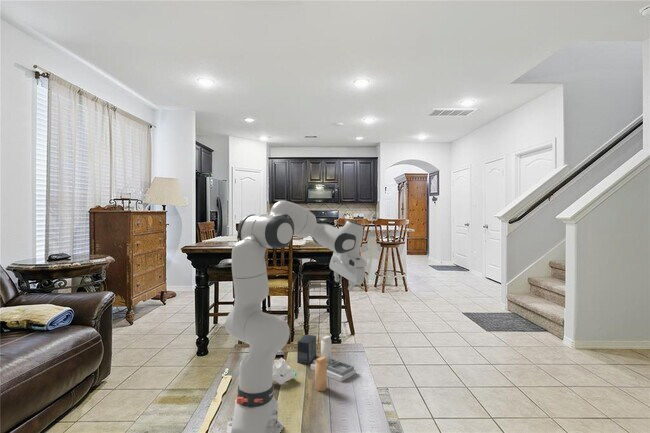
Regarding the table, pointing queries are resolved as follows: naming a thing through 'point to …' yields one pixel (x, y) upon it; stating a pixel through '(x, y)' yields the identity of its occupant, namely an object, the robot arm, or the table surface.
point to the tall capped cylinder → (321, 374)
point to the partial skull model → (282, 371)
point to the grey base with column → (334, 362)
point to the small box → (306, 349)
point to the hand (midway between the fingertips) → (343, 285)
